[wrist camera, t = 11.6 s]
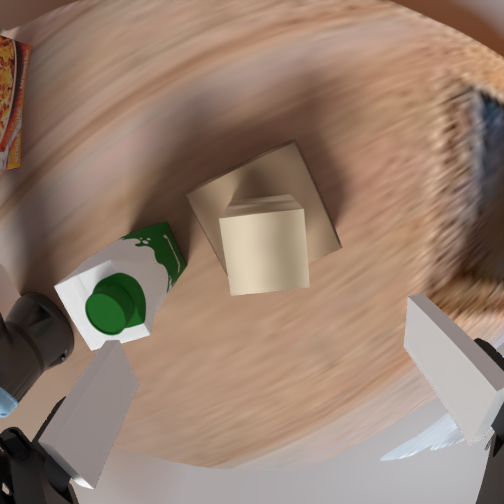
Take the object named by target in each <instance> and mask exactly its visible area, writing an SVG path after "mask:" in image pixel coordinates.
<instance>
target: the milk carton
mask: <svg viewBox="0 0 504 504" xmlns="http://www.w3.org/2000/svg"><path fill="white" fill-rule="evenodd" d="M186 267H187V265H186V263H185V261H184V258H183V256H182V254H181V252H180V250H179V247H178V245H177V243H176V241H175V239H174V236H173V234H172V232H171V230H170V227H169V225H168V223H167V222H163V223H160V224H156V225H153V226H149V227H146V228H143V229H140V230H137V231H135V232H132V233H130V234H128V235H126V236H123V237H121V238H120V239H118V240H116V241H115V242H113V243H111V244H110V245H108V246H107V247H105V248H103V249H102V250H100V251H99V252H97V253H96V254H94V255H93V256H92V257H90V258H88V259H86V260H84V261H83V262H82V263H81V264H80V265H79V266H78V267H77V268H76V269H75V270H74V271H73V272H72V273H70V274H69V275H68V276H67V277H65V278H64V279H63V280H62V281H60V282H59V283H58V284H56V285H55V286H54V287H55V289H56V291H57V293H58V295H59V297H60V299H61V300H62V302H63V304H64V306H65V308H66V309H67V311H68V313H69V315H70V317H71V318H72V320H73V322H74V323H75V325H76V327H77V328H78V330H79V332H80V333H81V335H82V337H83V338H84V340H85V341H86V343H87V344H88V346H89V348H90V349H91V350H95V349H99V348H101V347H102V345H103V344H104V343H105V341H106V340H119V341H120V343H125V342H128V341H131V340H135V339H138V338H141V337H145V336H148V335H150V334H151V331H152V326H153V321H154V316H155V314H156V312H157V311H158V309H159V308H160V306H161V304H162V303H163V301H164V299H165V298H166V296H167V295H168V293H169V291H170V290H171V288H172V287H173V285H174V284H175V282H176V281H177V279H178V278H179V277H180V275H181V274H182V272H183V271H184V269H185V268H186Z"/></svg>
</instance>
